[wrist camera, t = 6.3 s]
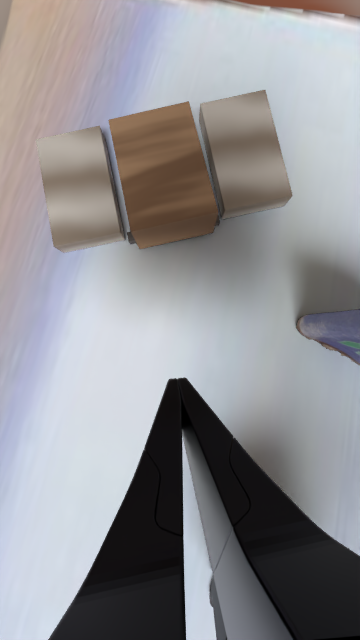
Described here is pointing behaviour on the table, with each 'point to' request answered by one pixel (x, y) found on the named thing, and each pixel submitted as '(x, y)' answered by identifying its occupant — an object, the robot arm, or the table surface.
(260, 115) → the floor row
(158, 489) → the robot arm
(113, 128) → the walnut plank
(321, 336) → the flask
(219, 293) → the table surface
